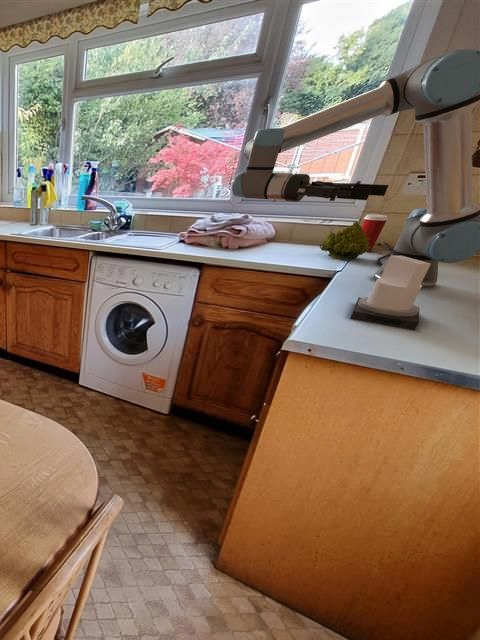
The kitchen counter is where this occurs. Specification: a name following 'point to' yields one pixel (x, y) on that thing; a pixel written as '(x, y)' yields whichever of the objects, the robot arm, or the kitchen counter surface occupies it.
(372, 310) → the kitchen scale
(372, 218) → the paper cup
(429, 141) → the robot arm
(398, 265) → the white stepped block
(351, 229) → the vegetable
